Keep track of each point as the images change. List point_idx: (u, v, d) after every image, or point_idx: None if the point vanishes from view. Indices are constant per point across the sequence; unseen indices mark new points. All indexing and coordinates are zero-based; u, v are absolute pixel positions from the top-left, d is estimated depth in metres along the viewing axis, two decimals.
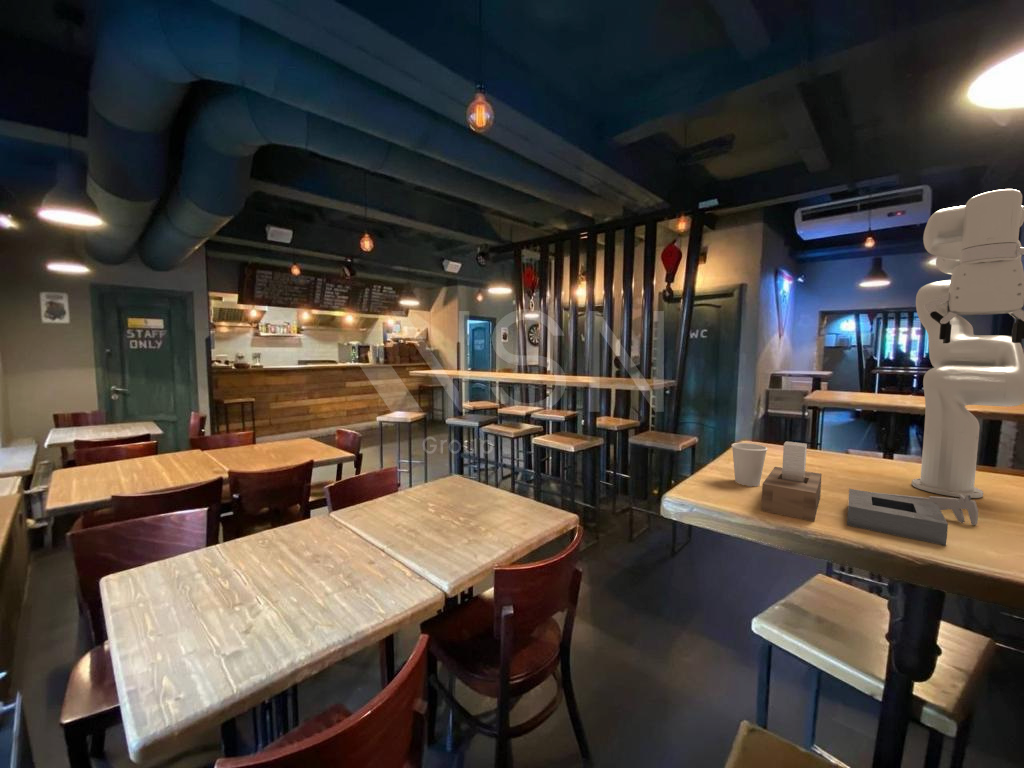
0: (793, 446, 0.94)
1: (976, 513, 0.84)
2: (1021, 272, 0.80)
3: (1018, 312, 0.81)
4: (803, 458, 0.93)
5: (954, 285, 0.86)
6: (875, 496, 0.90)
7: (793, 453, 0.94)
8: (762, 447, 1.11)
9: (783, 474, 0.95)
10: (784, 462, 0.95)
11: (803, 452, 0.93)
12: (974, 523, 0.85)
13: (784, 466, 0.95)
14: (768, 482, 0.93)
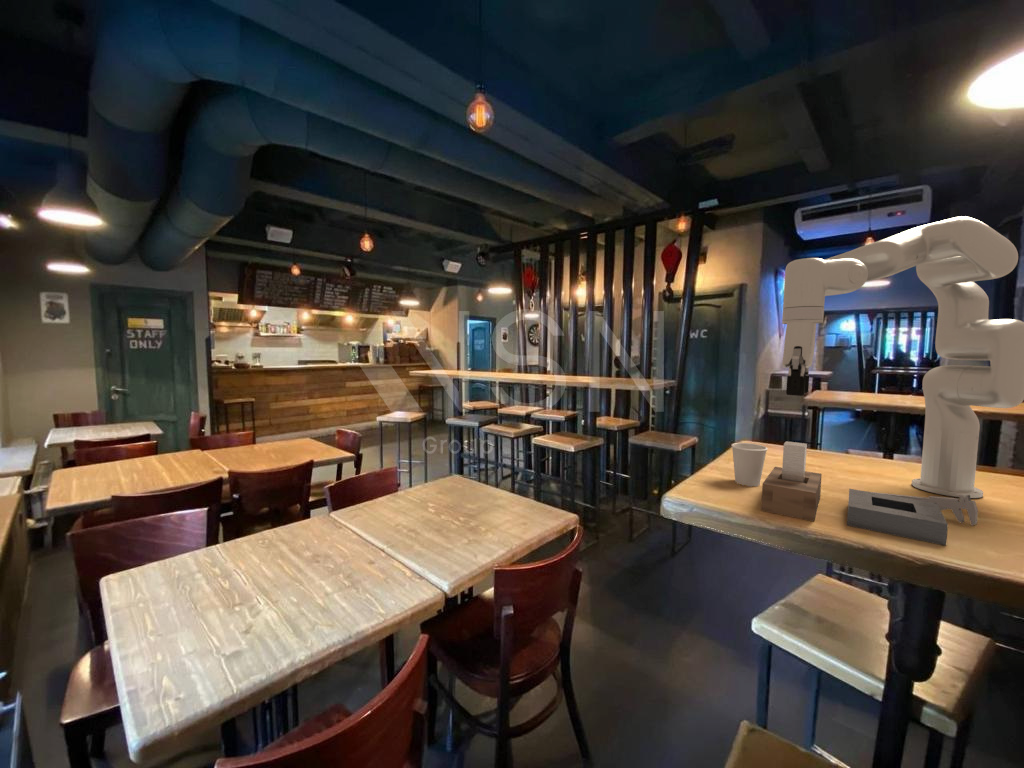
0: (793, 446, 0.94)
1: (975, 513, 0.84)
2: None
3: (808, 367, 0.97)
4: (803, 458, 0.93)
5: (809, 340, 0.89)
6: (875, 496, 0.90)
7: (793, 453, 0.94)
8: (762, 447, 1.11)
9: (783, 474, 0.95)
10: (784, 462, 0.95)
11: (803, 452, 0.93)
12: (974, 523, 0.85)
13: (784, 466, 0.95)
14: (768, 482, 0.93)
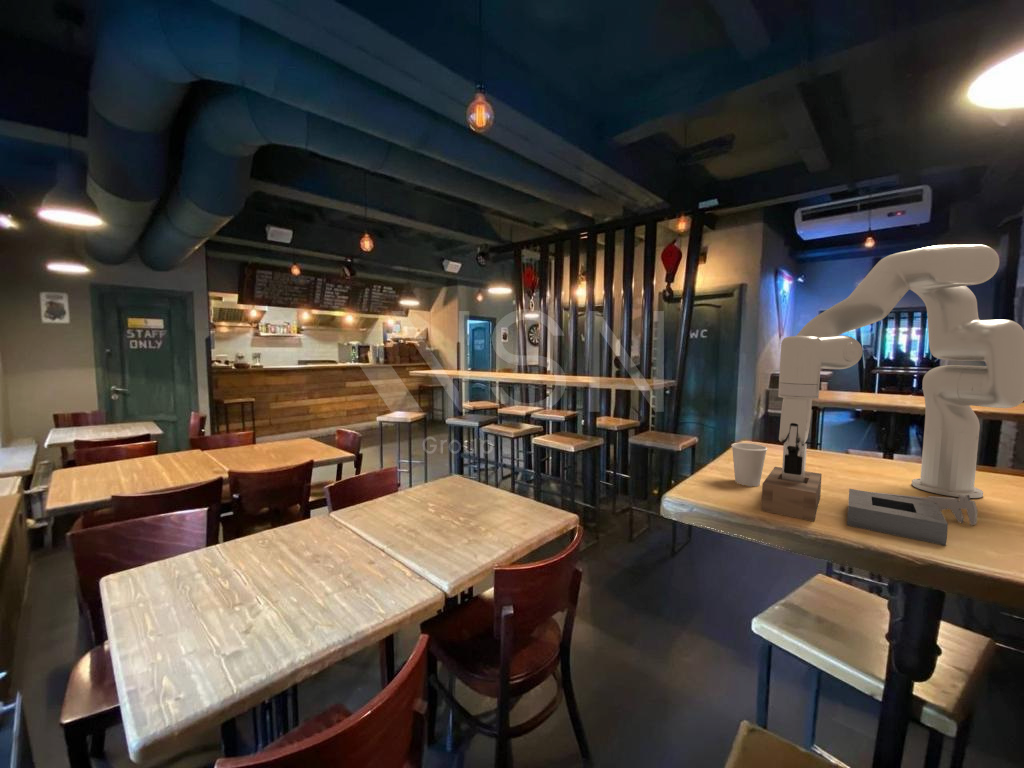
0: None
1: (975, 513, 0.84)
2: None
3: None
4: (803, 458, 0.93)
5: (805, 418, 0.90)
6: (875, 496, 0.90)
7: None
8: (762, 447, 1.11)
9: (783, 474, 0.95)
10: None
11: (803, 452, 0.93)
12: (973, 523, 0.85)
13: None
14: (768, 482, 0.93)
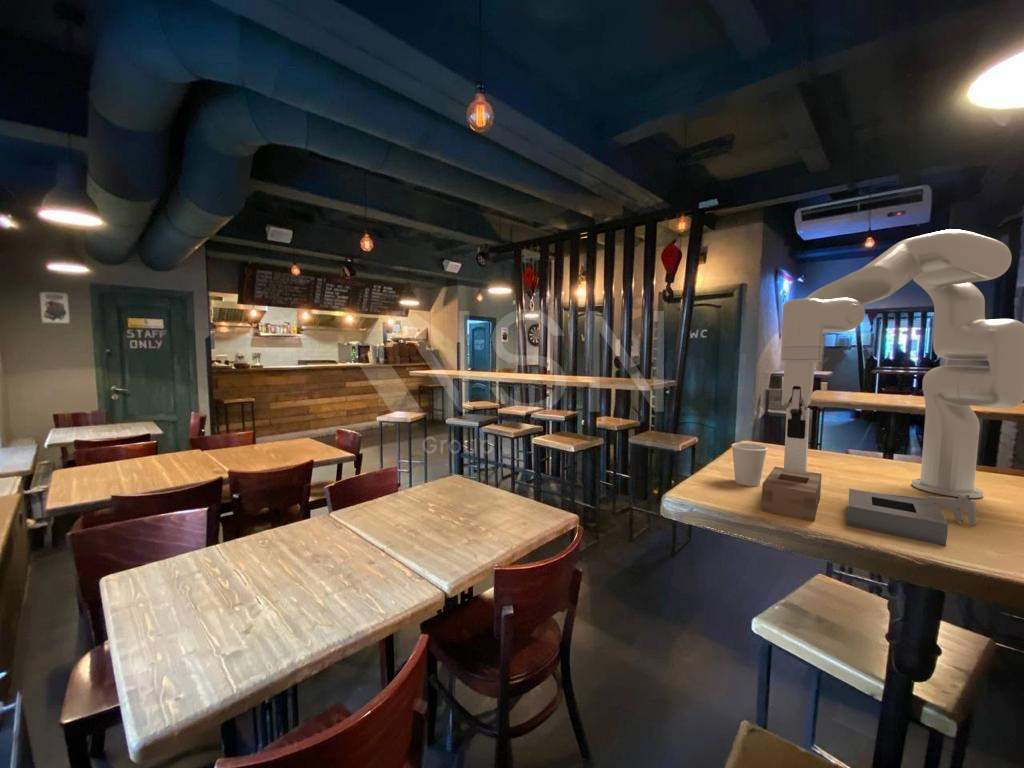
0: None
1: (975, 512, 0.84)
2: None
3: None
4: (806, 422, 0.92)
5: (808, 380, 0.90)
6: (875, 496, 0.90)
7: None
8: (762, 447, 1.11)
9: (786, 439, 0.95)
10: None
11: (806, 416, 0.92)
12: (973, 523, 0.85)
13: None
14: (768, 482, 0.93)
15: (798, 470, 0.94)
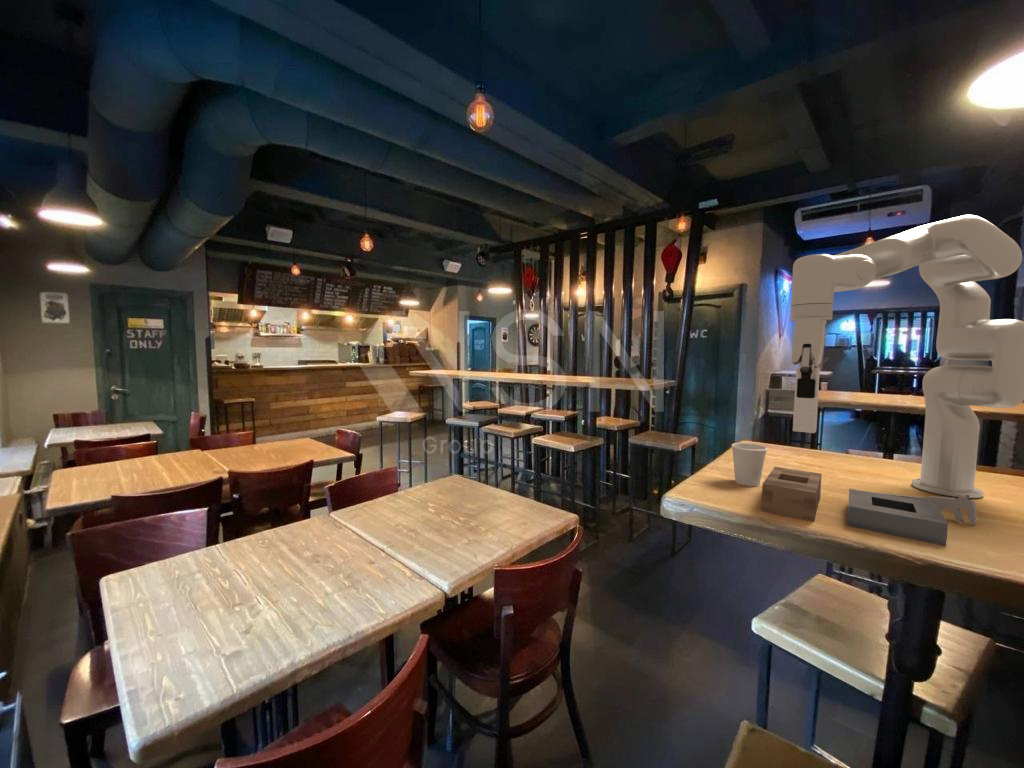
0: None
1: (974, 512, 0.85)
2: None
3: None
4: (816, 381, 0.91)
5: (818, 337, 0.88)
6: (875, 496, 0.90)
7: None
8: (762, 447, 1.11)
9: (795, 399, 0.93)
10: (796, 387, 0.93)
11: (816, 374, 0.91)
12: (973, 523, 0.85)
13: (796, 391, 0.93)
14: (768, 482, 0.93)
15: (807, 431, 0.92)
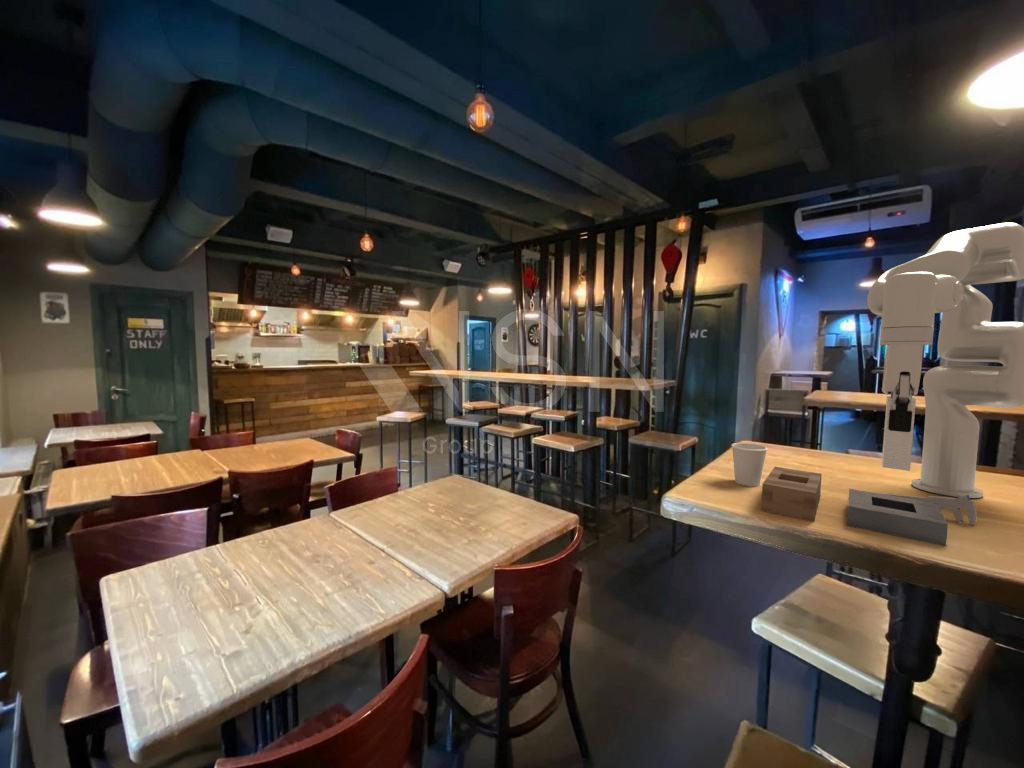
0: None
1: (974, 512, 0.85)
2: None
3: None
4: (913, 412, 0.81)
5: (919, 365, 0.79)
6: (875, 496, 0.90)
7: None
8: (762, 447, 1.11)
9: (887, 432, 0.84)
10: (888, 418, 0.83)
11: (913, 406, 0.81)
12: (973, 522, 0.85)
13: (888, 423, 0.84)
14: (768, 482, 0.93)
15: (901, 468, 0.83)
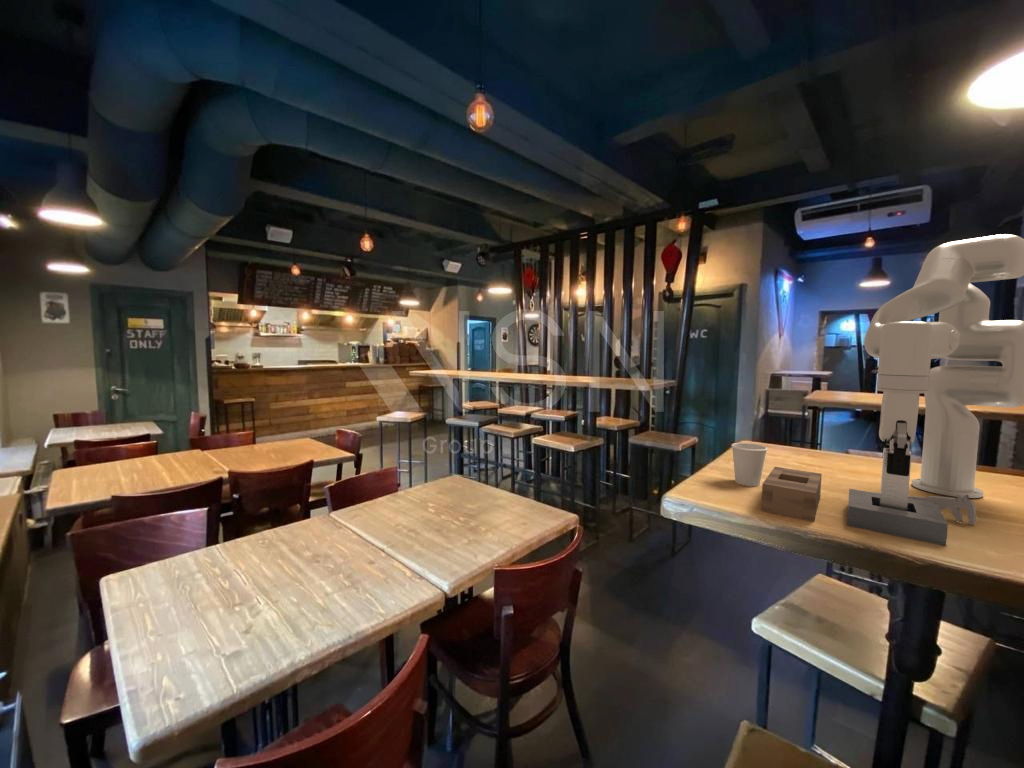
0: None
1: (974, 512, 0.85)
2: None
3: None
4: None
5: (915, 414, 0.79)
6: (875, 496, 0.90)
7: None
8: (762, 447, 1.11)
9: (883, 485, 0.85)
10: (884, 471, 0.84)
11: None
12: (972, 523, 0.85)
13: (884, 476, 0.85)
14: (768, 482, 0.93)
15: None
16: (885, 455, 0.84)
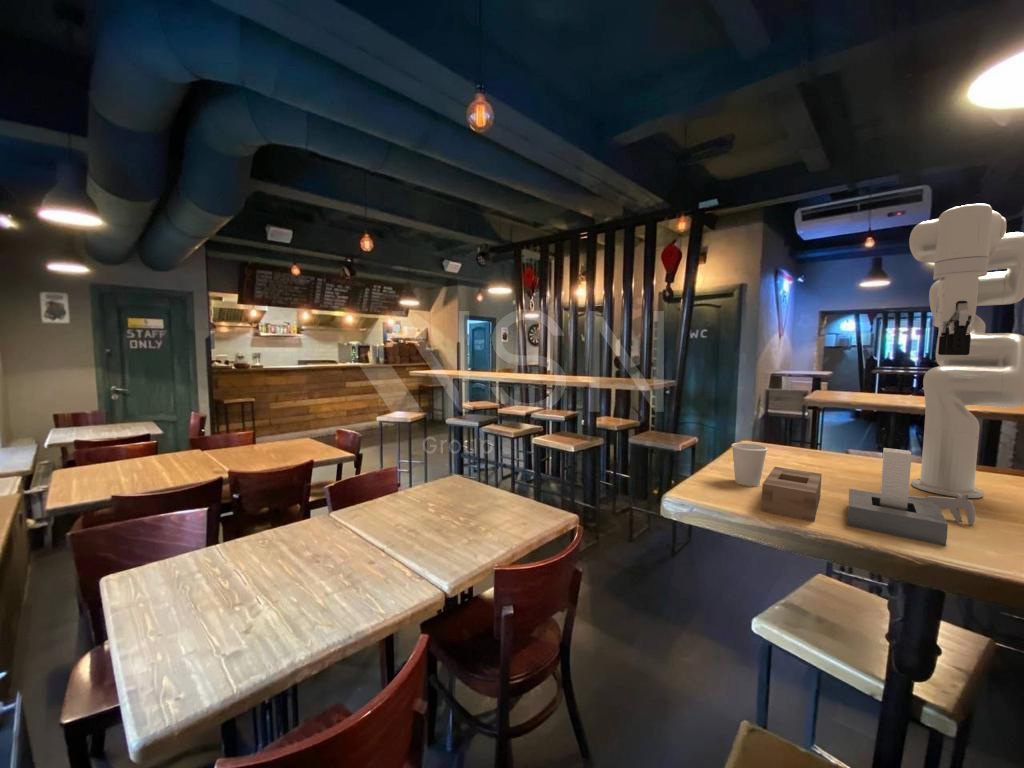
0: (896, 453, 0.83)
1: (973, 512, 0.85)
2: None
3: None
4: (909, 467, 0.82)
5: (976, 294, 0.81)
6: (875, 496, 0.90)
7: (896, 461, 0.83)
8: (762, 447, 1.11)
9: (883, 485, 0.85)
10: (884, 471, 0.84)
11: (909, 460, 0.82)
12: (971, 522, 0.85)
13: (884, 476, 0.85)
14: (768, 482, 0.93)
15: None
16: (885, 455, 0.84)
